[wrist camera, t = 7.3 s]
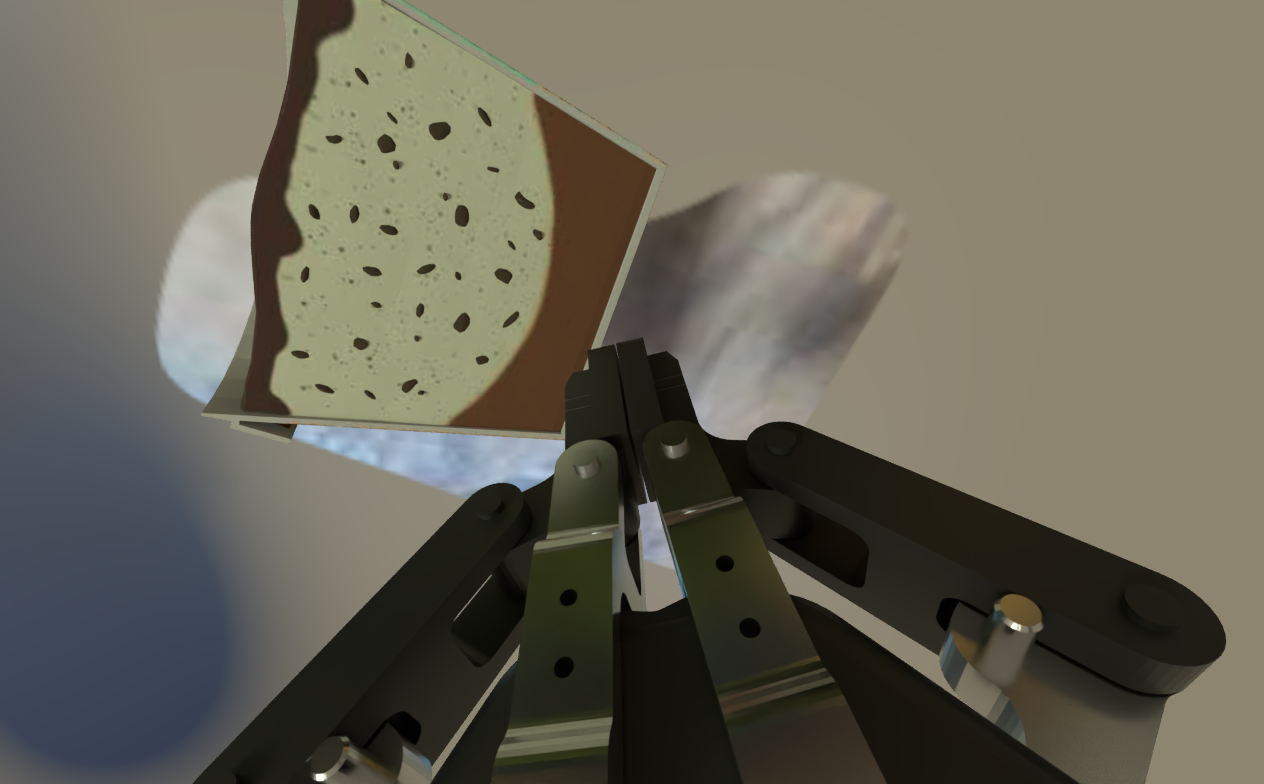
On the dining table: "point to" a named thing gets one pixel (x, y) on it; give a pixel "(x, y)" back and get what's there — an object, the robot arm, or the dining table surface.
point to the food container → (427, 236)
